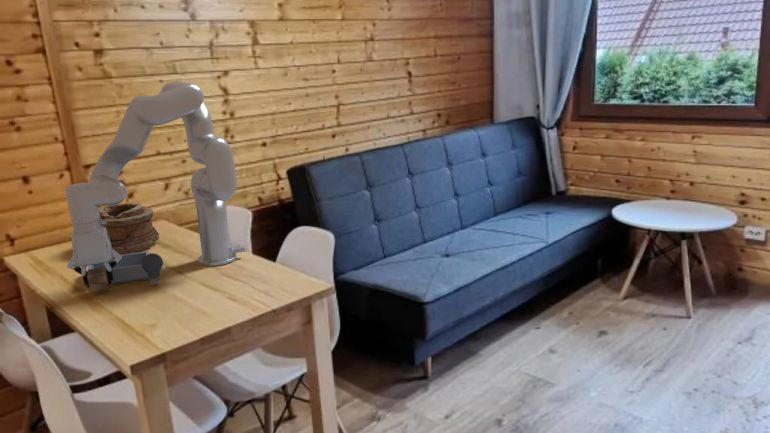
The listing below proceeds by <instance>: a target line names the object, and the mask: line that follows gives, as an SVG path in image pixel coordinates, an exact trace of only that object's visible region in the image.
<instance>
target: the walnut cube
mask: <svg viewBox="0 0 770 433" xmlns="http://www.w3.org/2000/svg"><path fill="white" fill-rule="evenodd" d="M87 270H88V269H87ZM106 271H107V270H106V267H101V268H95V269H89V270H88V273H87V278H88V283H89V287H90V288H89V290H90V291H89V292H93V291H99V290H106V289H109V288H110V285H109V284H108V279H107V274H106Z"/></svg>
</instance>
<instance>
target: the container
mask: <svg viewBox="0 0 770 433" xmlns="http://www.w3.org/2000/svg"><path fill="white" fill-rule="evenodd" d="M99 213H100V217H101V219H102V220H107V224H104V225H103V226H102V227H105V228H106V230H107V232H108V235H109V238H110V242H111V246H112V249H114V250H115V251H116V252H117V253H119V254H120V255H125V254H132V253H139V252H144V251H146V250H147V249H151V248H152V247H153V246H154V242H156V241H158V240H159V239H160V233H159V232H158V230H157V229H156V228H155V227H154V226H153V221H152V220H153V216H154V209H152V208H151V207H148V206H145V205H144V206H143V205H141V204H140V203H133V202H126V203H123V202H121V203H119V204H117V205H111V206H103V207H100V208H99Z"/></svg>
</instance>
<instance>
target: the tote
mask: <svg viewBox="0 0 770 433" xmlns="http://www.w3.org/2000/svg"><path fill="white" fill-rule="evenodd" d="M148 254H150V252H149V251H146V250H145V251H140V252H136V253H131V254H123V255H121V256H122V259H121V260H120V261H119V262H118V263H117V264H116V265H115V266H114V268H113V269H112V274H113V280H111V284H110V285H109V286H113V285H119V284H120V285H121V284H126V283H133V282H139V281H144V280H145V281H146V280H150V278H149V277H148V274H147V272H146V271H145V270H144V269H143V268H142V260H143V258H144V257H145V256H146V255H148ZM112 257H113V258H112V260H111V261H110V263H111V262H112V261H113V260H114V259H115V257H114V256H112ZM101 267H105V265H104V263H100V264H95V265H89V266H87V269H86V271H87V272H88V270H89V269H95V268H101Z"/></svg>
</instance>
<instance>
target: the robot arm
mask: <svg viewBox="0 0 770 433" xmlns="http://www.w3.org/2000/svg"><path fill="white" fill-rule="evenodd" d="M178 119H181V120H182V122H183V125H184V128H185V129H184V130H185V134H186V141H187V145H188V153H189V157H190V159H191V160H192V161H193V162H195V163H197V164H199V165H201V166H203V165H204V166H205V167H200V168H198V169H197V170H196V171H194V173H193V174H192V176H191V179H190V188H191V192H192V196H193V199H194V203H195V208H196V214H197V215H196V218H197V225H198V233H199V240H200V250H201V255H199V257H198V258H197V262H198V264H199V265H201V266H206V267H214V266H216V267H217V266H222V265H227V264H229V263H232V262H234V261H235V260H236V259H237V253H244V252H245V253H246V248H245V245H244V246H240V245H235V246H233V245H232V244H231V238H230V230H229V229H230V228H229V222H228V221H229V220H228V211H227V210H228V209H227V205H226V204H227V203H226V201H229V200H230V199H231V198H232V197H233V196H235V194H236V191H237V186H238V185H237V184H238V183H237V182H238V180H237V174H236V168H235V161H234V154H233V150H232V148H231V146H230V144H229V143H228V141H227V140H225V139H223V138H222V137H219V136H216V134H215V130H214V126H213V125H214V124H213V120H212V116H211V113H210V110H209V109H208V106H206V104H205V103H204V93H203V91H202V89H201V88H200V87H199V86H198V85H196V84H195V83H191V82H181V81H178V82H177V81H174V82H171V81H170V82H167V83H166V84H164V85H163V86H162V87H161V89H160V93H159V94H155V95H137V96H135V97H133V98H132V99H131V101H130V102H129V104H128V106H127V108H126V110H125V113H124V115H123V117H122V120H121V122H120V123H119V126H118V129H117V131H116V132H115V134H114V137H113V139H112V141H111V142H110V143H109V145H108V146H107V147H106V149H105V150H104V152H102V154H101V156H100V157H99V158H98V160H97V162H96V163H95V165H94V167H93V169H92V172H91V174H90V177H89V179H88V182H80V183H79V182H78V183H74V184H69V185H68V186H67V187H66V188H65V191H64V193H65V197H66V198H65V199H66V203H67V206H68V207H67V208H68V212H69V217H70V221H71V222H70V223H71V226H72V232H71V248H72V249H71V250H72V256H71V258H70V260H69V261H68V263H67V266H66V268H68V269H70V270H72V271H74V272H76V273H78V274H79V275H80V276H82V280H83V284H84V286H87V287H86V288H87V289H90V287H89V283H88V278H87V273H88V272H87V270H88V266H89V265H95V264H100V263H104V265H105V267H106V270H107V271H106V274H107V279H108V284H109V286H111V285H110V284H111V280H113V274H112V269H113V268H114V266H115V265H116V264H117V263H118V262H119V261H120V260H121V259H122V256H121V255H120V254H119V253H117V252H116V251H115V250H114V249H112V246H111V242H110V238H109V235H108V232H107V230H106V228H105V227H102V226H103V225H104V224H107V220H102V219H101V217H100V213H99V209H100V208H99V207H106V206H111V205H117V204H121V203H123V202H124V201H125V200H126V197H127V195H128V190H127V187H126V185H125V184H124V183H123V182H121V181H120V180H118V178H119V176H120V174H121V172H122V170H123V169H124V168H125V166H126V165H127V164H128V163H129V162H130V161H132V160H134V159H136V158H137V157H138V156H140V155H141V154H142V153H143V152H144V149H145V146H146V145H147V142H148V140H149V137H150V135H151V133H152V130H153V129H154V127H157V126H163V125H165V124H169V123H171V122H173V121H176V120H178ZM112 256H114V257H115V259H114V260H113V261H112V262H111V263H110V261H111V260H112V258H113V257H112Z"/></svg>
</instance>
